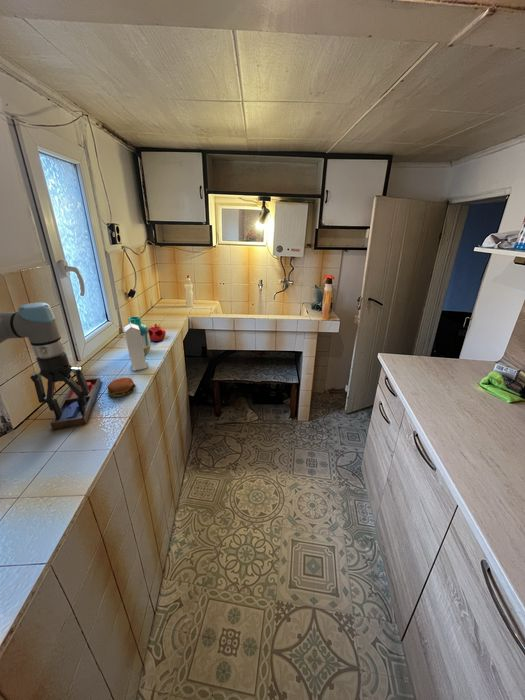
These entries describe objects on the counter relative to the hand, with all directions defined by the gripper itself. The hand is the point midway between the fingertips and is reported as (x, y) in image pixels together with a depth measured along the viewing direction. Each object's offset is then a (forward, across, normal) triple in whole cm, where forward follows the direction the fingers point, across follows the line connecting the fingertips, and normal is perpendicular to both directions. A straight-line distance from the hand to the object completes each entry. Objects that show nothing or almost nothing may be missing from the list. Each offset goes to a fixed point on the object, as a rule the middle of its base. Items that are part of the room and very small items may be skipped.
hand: (71, 415), depth 95 cm
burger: (+2, +14, +14) cm, 20 cm away
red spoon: (+1, 0, +16) cm, 16 cm away
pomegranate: (+2, +27, +66) cm, 71 cm away
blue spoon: (+1, 0, +2) cm, 3 cm away
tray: (+2, 0, +10) cm, 10 cm away
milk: (+2, +19, +34) cm, 39 cm away
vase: (+2, +19, +48) cm, 52 cm away
